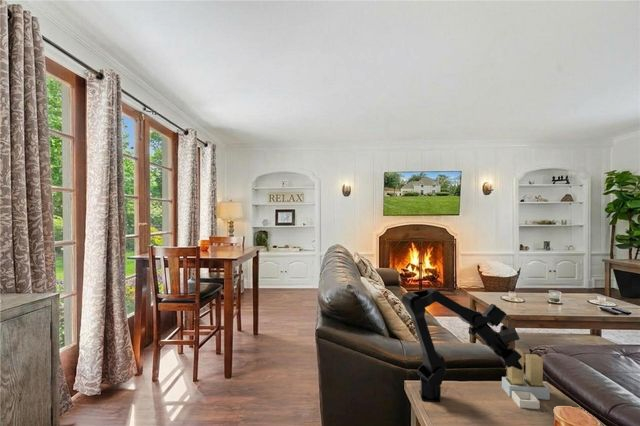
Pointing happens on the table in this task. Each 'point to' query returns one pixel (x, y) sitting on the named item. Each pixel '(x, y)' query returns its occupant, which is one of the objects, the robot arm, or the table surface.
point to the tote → (529, 403)
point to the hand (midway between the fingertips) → (519, 366)
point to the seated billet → (534, 370)
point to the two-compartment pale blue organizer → (526, 389)
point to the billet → (516, 372)
